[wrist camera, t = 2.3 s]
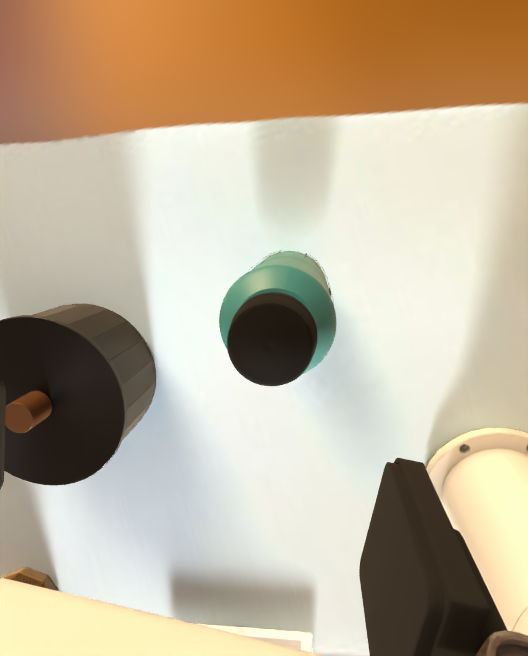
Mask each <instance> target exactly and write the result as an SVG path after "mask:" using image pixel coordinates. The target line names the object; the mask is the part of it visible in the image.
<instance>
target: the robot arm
mask: <svg viewBox="0 0 528 656" xmlns="http://www.w3.org/2000/svg"><path fill="white" fill-rule="evenodd" d="M5 412H6V387H5V385H4V384H3V383H1V380H0V489H1V487H2V485H3V482H4V456H5ZM461 445H463V446H461ZM360 583H361V591H362V598H363V606H364V614H365V621H366V629H367V637H368V644H369V652H370V656H528V434H527V433H524V432H521V431H518V430H515V429H508V428H484V429H479V430H474V431H471V432H468V433H465V434H463V435H460V436H458V437H457V438H455V439H453V440H451V441H450V442H448V443H447V444H446V445H444V446H443V447H442V448H441V449H440V450H439V451H438V452H437V453H436V454H435V455H434V457H433V458H432V459H431V460H430V462H429V464H428V466H427V468H425V466H424V464H423V463H421V462H416V461H411V460H406V459H401V458H397V459H396V460H395V462H394V463H390V462H387V463H386V465H385V468H384V472H383V476H382V480H381V484H380V487H379V491H378V495H377V499H376V503H375V507H374V510H373V514H372V518H371V522H370V526H369V529H368V533H367V537H366V541H365V545H364V548H363V552H362V556H361V561H360ZM0 656H323V655H319V654H316V653H312V652H308V651H304V650H300V649H296V648H291V647H287V646H283V645H279V644H275V643H271V642H267V641H263V640H259V639H255V638H251V637H246V636H242V635H238V634H234V633H230V632H226V631H222V630H218V629H214V628H210V627H206V626H201V625H197V624H193V623H189V622H185V621H181V620H177V619H173V618H169V617H165V616H160V615H156V614H152V613H148V612H144V611H139V610H135V609H131V608H127V607H123V606H118V605H114V604H110V603H106V602H102V601H97V600H93V599H89V598H85V597H81V596H76V595H72V594H68V593H64V592H59V591H55V590H51V589H47V588H43V587H38V586H34V585H30V584H26V583H22V582H18V581H13V580H9V579H5V578H1V577H0Z"/></svg>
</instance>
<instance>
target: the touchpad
mask: <svg viewBox="0 0 528 656" xmlns="http://www.w3.org/2000/svg"><path fill="white" fill-rule="evenodd" d="M193 624H197V623H193ZM197 625H201V626H206V627H210V628H214V629H218V630H222V631H226V632H230V633H234V634H238V635H242V636H246V637H251V638H255V639H259V640H263V641H267V642H271V643H275V644H279V645H283V646H287V647H291V648H296V649H300V650H304V651H308V652H312V633H307V632H295V631H283V630H270V629H258V628H246V627H234V626H222V625H210V624H197Z"/></svg>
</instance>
